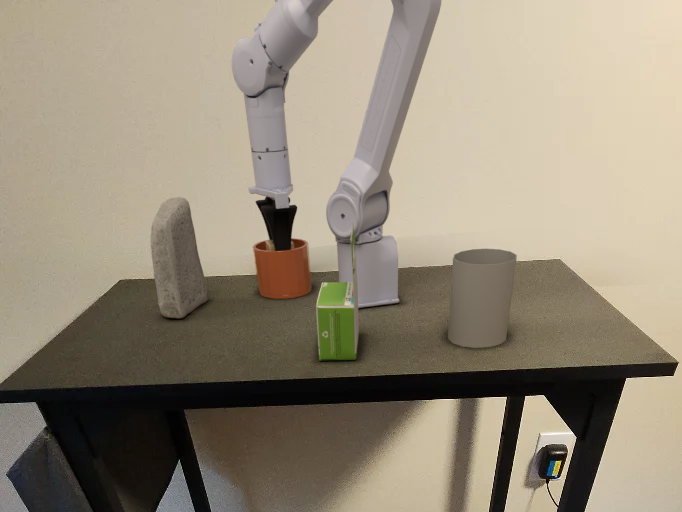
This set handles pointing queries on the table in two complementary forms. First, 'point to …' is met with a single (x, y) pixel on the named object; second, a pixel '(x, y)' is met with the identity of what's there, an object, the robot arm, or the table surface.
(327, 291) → the ink box
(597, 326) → the table surface
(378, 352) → the table surface
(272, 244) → the beige cube
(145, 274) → the table surface
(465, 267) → the cup
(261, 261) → the cup
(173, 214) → the decorative stone
